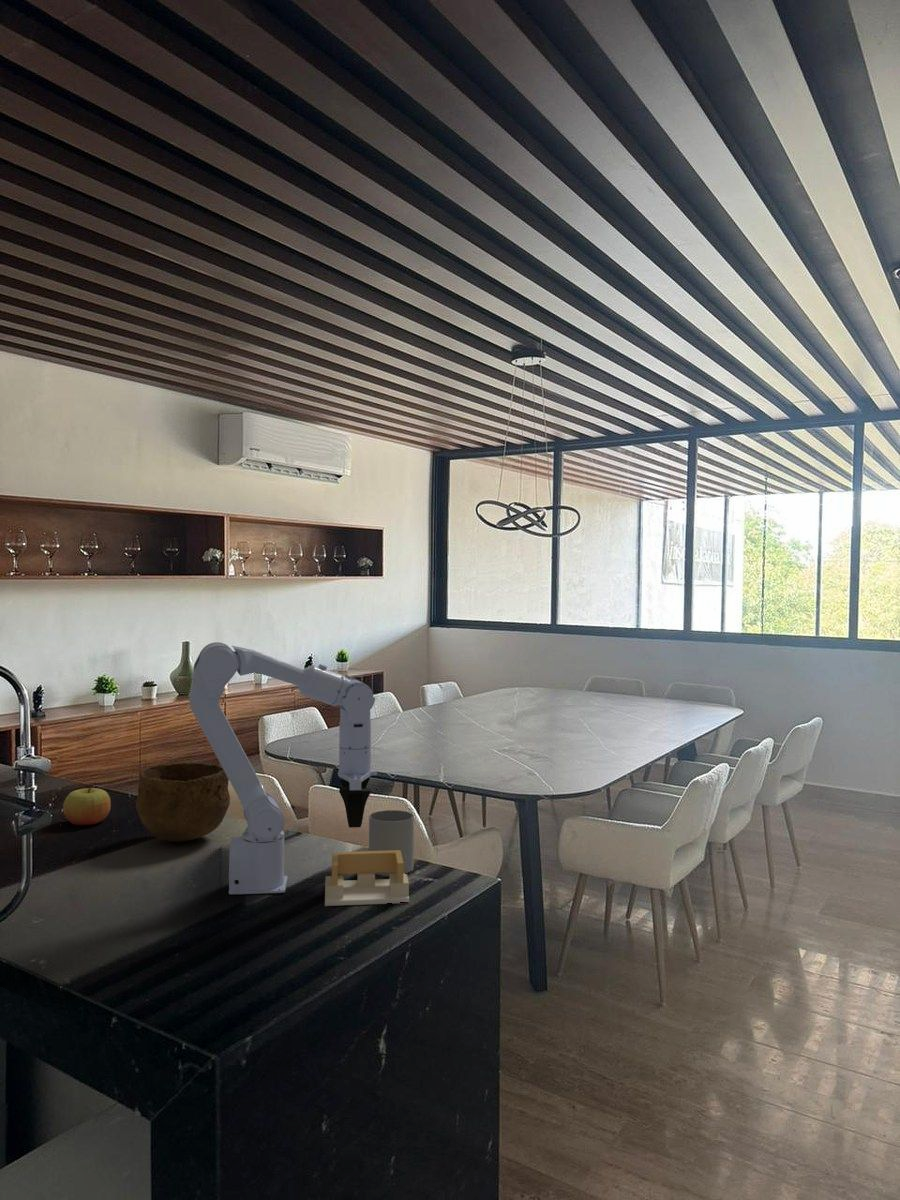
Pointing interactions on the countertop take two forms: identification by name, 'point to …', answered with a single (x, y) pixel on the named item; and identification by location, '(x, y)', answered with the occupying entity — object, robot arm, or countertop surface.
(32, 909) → the countertop surface
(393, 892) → the display stand
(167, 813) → the bowl
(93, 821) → the apple
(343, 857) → the tan u-shaped clamp
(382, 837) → the cup
